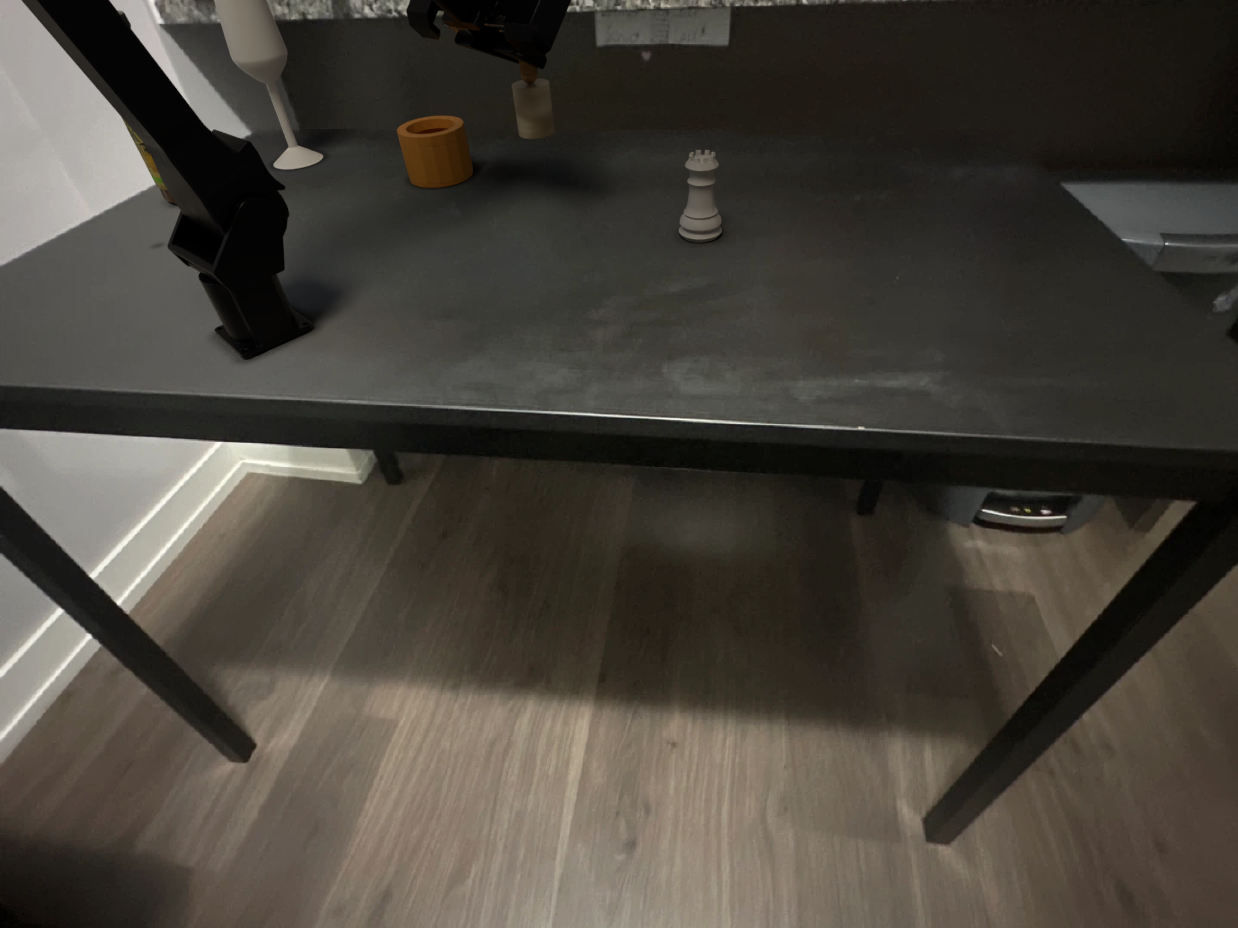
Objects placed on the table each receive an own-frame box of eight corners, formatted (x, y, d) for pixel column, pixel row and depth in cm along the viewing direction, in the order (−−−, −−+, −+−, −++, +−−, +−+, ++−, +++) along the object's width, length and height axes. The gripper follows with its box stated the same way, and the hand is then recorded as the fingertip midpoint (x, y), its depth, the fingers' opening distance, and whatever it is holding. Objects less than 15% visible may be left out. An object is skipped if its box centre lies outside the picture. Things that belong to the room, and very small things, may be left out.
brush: (559, 127, 77) (544, -12, 68) (548, 139, 74) (530, -4, 65) (526, 127, 78) (506, -11, 69) (513, 138, 75) (491, -3, 66)
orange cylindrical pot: (485, 173, 87) (476, 122, 83) (433, 193, 83) (420, 141, 79) (449, 160, 91) (439, 111, 87) (398, 178, 88) (384, 128, 83)
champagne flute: (280, 154, 97) (200, -56, 81) (327, 149, 98) (257, -61, 81) (267, 171, 92) (179, -49, 76) (317, 166, 93) (240, -54, 76)
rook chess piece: (730, 232, 71) (735, 151, 65) (704, 248, 68) (706, 166, 63) (696, 221, 73) (698, 143, 68) (669, 236, 71) (669, 156, 65)
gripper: (543, -150, 53) (638, -6, 67) (399, -142, 62) (507, -16, 76) (487, -11, 54) (591, 104, 68) (353, -23, 64) (468, 80, 77)
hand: (537, 63), depth 72 cm, fingers closed on brush, 2 cm apart
